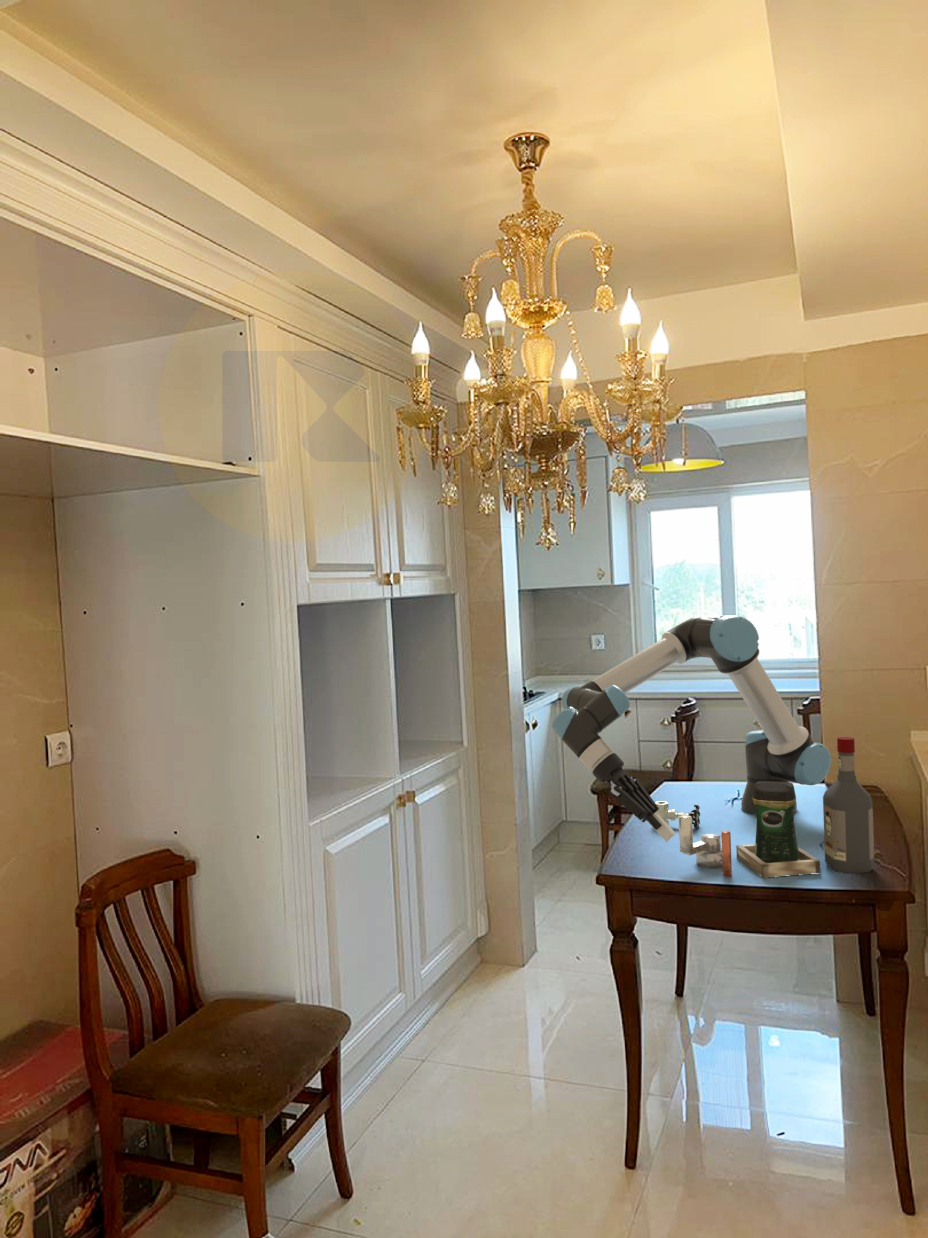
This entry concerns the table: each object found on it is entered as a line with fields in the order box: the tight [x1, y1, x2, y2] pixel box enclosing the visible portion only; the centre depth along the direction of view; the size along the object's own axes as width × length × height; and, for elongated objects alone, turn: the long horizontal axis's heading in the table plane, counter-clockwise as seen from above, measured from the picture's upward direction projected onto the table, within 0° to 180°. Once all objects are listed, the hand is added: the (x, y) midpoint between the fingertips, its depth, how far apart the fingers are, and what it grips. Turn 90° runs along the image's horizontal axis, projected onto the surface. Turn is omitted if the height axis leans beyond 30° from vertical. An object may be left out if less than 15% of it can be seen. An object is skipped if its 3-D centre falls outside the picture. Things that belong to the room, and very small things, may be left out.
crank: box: [678, 815, 722, 856], centre depth 212 cm, size 13×4×10 cm, turn 127°
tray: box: [735, 843, 822, 879], centre depth 212 cm, size 13×15×3 cm
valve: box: [654, 800, 701, 830], centre depth 247 cm, size 7×7×12 cm
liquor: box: [822, 736, 875, 875], centre depth 207 cm, size 9×9×30 cm
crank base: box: [695, 830, 733, 878], centre depth 212 cm, size 7×14×10 cm, turn 5°
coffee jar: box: [753, 781, 799, 863], centre depth 211 cm, size 10×8×19 cm
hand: (671, 837), depth 211 cm, fingers closed
